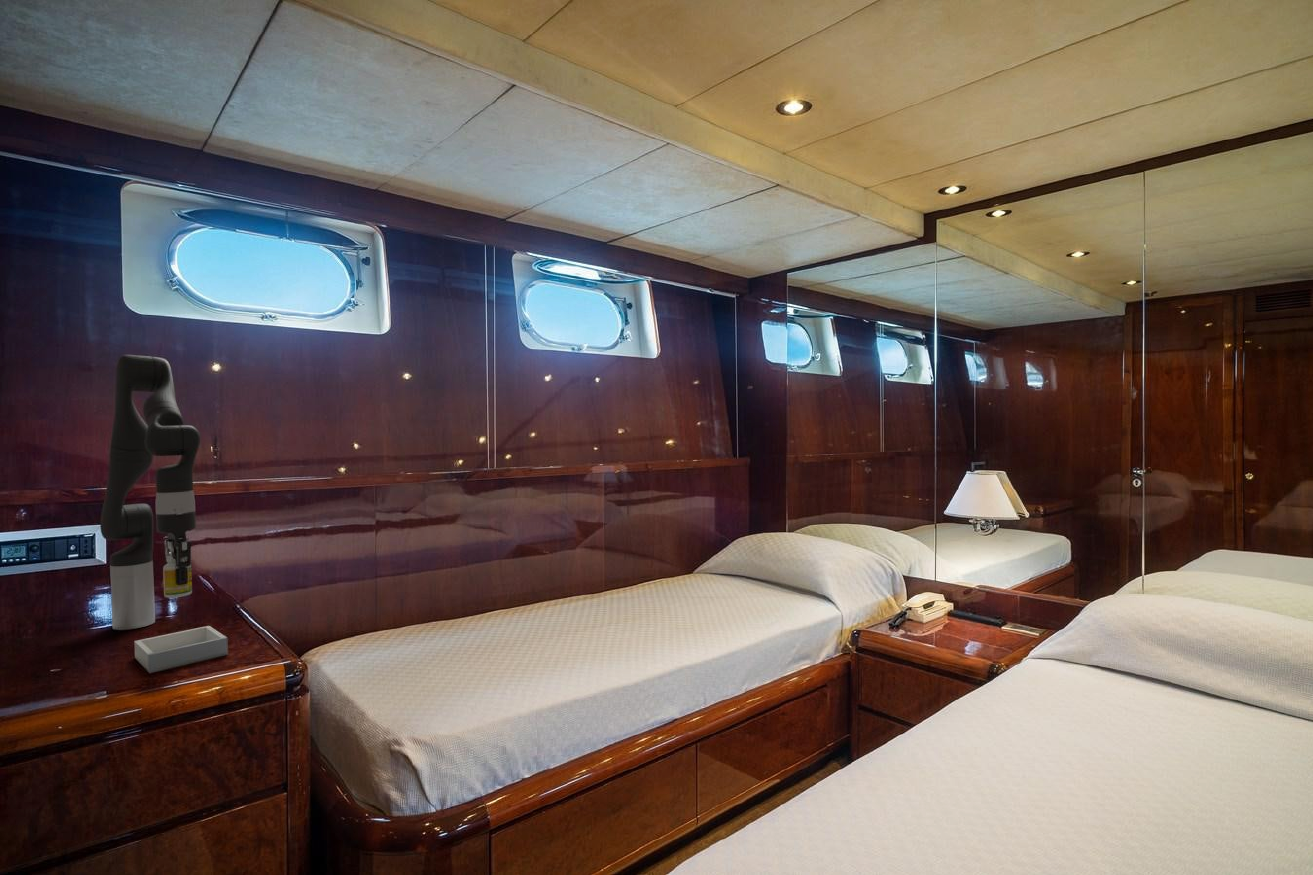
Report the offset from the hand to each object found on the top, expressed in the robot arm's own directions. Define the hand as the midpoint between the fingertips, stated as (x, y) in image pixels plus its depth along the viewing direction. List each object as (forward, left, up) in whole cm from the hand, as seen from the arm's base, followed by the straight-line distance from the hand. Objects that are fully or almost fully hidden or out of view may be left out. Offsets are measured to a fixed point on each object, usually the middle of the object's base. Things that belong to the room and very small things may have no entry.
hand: (178, 582), depth 157 cm
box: (0, 0, -17) cm, 17 cm away
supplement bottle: (0, 0, -3) cm, 3 cm away
